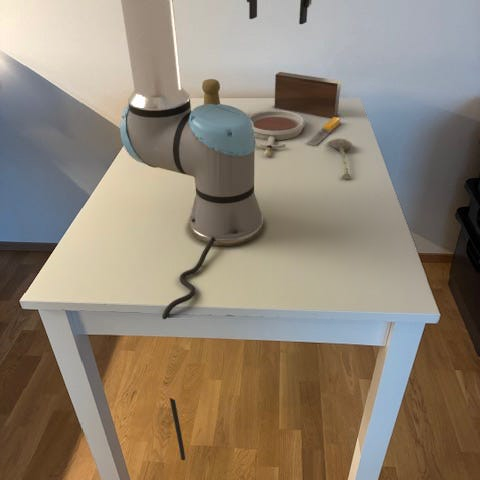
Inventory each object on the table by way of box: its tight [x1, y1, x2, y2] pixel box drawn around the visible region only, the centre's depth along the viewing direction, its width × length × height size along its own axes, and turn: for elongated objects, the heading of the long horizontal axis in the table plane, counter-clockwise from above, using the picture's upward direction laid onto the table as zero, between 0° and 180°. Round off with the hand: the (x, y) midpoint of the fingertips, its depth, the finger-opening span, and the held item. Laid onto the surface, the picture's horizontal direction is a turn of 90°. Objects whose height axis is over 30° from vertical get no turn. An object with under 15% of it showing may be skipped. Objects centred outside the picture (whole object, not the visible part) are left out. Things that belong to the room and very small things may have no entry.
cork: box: [201, 78, 221, 105], centre depth 144 cm, size 6×6×11 cm
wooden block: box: [274, 71, 342, 119], centre depth 148 cm, size 3×20×10 cm, turn 60°
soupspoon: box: [327, 137, 353, 180], centre depth 124 cm, size 22×3×7 cm
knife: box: [308, 116, 341, 147], centre depth 137 cm, size 18×2×2 cm, turn 151°
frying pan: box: [249, 109, 306, 158], centre depth 136 cm, size 17×3×28 cm
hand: (277, 20), depth 119 cm, fingers open, 13 cm apart
